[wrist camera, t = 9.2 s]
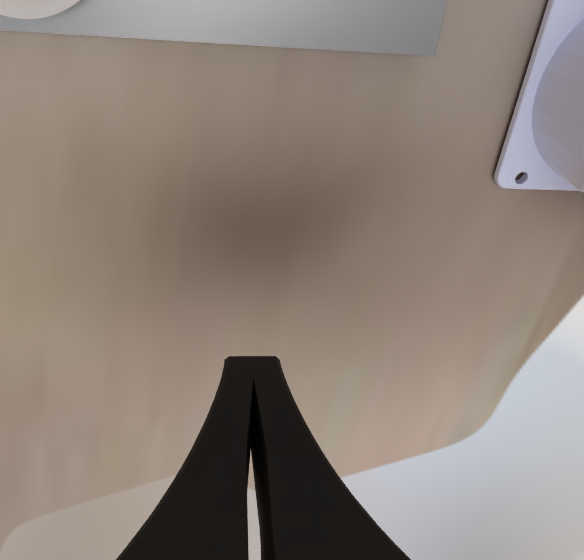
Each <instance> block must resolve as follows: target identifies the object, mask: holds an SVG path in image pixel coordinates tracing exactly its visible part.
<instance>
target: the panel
mask: <svg viewBox="0 0 584 560" xmlns="http://www.w3.org/2000/svg"><path fill="white" fill-rule="evenodd" d="M446 2H447V0H0V30H2V31H19V32H36V33H52V34H69V35H86V36H102V37H119V38H136V39H152V40H169V41H186V42H202V43H219V44H236V45H253V46H269V47H286V48H303V49H319V50H336V51H353V52H369V53H386V54H403V55H419V56H435V54H436V49H437V45H438V40H439V35H440V30H441V26H442V21H443V16H444V12H445V7H446Z"/></svg>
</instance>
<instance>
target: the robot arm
mask: <svg viewBox="0 0 584 560" xmlns="http://www.w3.org/2000/svg"><path fill="white" fill-rule="evenodd" d="M520 172H523V176H522V177H521V178H520V179H519V180H515V177H516V176H517V175H518V174H519V173H520ZM494 179H495V182H496V183H497V184H498V185H499V186H500V187H501V188H505V189H534V190H566V191H581V192H583V193H584V0H549V1H548V4H547V7H546V11H545V14H544V17H543V20H542V23H541V27H540V30H539V33H538V36H537V39H536V43H535V46H534V49H533V52H532V55H531V59H530V62H529V65H528V68H527V72H526V75H525V78H524V81H523V84H522V88H521V91H520V94H519V97H518V100H517V104H516V107H515V110H514V113H513V116H512V120H511V123H510V126H509V129H508V132H507V136H506V139H505V142H504V145H503V148H502V152H501V155H500V158H499V161H498V164H497V168H496V171H495V174H494ZM250 449H251V453H252V462H253V472H254V481H255V490H256V499H257V508H258V517H259V526H260V539H261V540H260V541H261V560H411V559H410V558H409V557H408V556H406V555H405V553H404V552H403V551H402V550H401V549H400V548H399V547H398V546H397V545H396V544H395V543H394V542H393V541H392V540H391V539H390V538H389V537H388V536H387V535H386V534H385V532H384V531H383V530H382V529H381V528H380V527H379V526H378V525H377V524H376V522H375V521H374V520H373V519H372V518H371V517H370V515H369V514H368V513H367V512H366V511H365V509H364V508H363V507H362V506H361V504H359V502H358V501H357V500H356V499H355V497H354V496H353V495H352V494H351V492H350V491H349V489H348V488H347V487H346V485H345V484H344V483H343V481H342V480H341V479H340V477H339V476H338V474H337V473H336V472H335V470H334V469H333V467H332V466H331V464H330V463H329V461H328V460H327V458H326V457H325V455H324V454H323V452H322V450H321V449H320V447H319V445H318V444H317V442H316V440H315V439H314V437H313V435H312V434H311V432H310V430H309V428H308V426H307V425H306V423H305V421H304V419H303V417H302V415H301V413H300V411H299V409H298V407H297V405H296V403H295V401H294V398H293V396H292V394H291V392H290V389H289V387H288V385H287V382H286V379H285V377H284V374H283V371H282V368H281V364H280V360H279V359H278V358H277V357H276V356H230V357H228V358H227V359H225V362H224V369H223V373H222V377H221V381H220V384H219V387H218V390H217V393H216V396H215V398H214V401H213V403H212V406H211V408H210V411H209V413H208V415H207V418H206V420H205V422H204V425H203V427H202V429H201V431H200V433H199V435H198V437H197V439H196V441H195V443H194V445H193V447H192V449H191V451H190V453H189V455H188V456H187V458H186V460H185V462H184V464H183V465H182V467H181V469H180V470H179V472H178V474H177V475H176V477H175V479H174V481H173V482H172V484H171V485H170V487H169V488H168V490H167V491H166V493H165V494H164V496H163V497H162V499H161V500H160V502H159V504H158V505H157V506H156V508H155V509H154V511H153V512H152V514H151V515H150V516H149V518H148V519H147V520H146V522H145V523H144V525H143V526H142V527H141V528H140V530H139V531H138V532H137V534H136V535H135V536H134V538H133V539H132V540H131V542H130V543H129V544H128V546H127V547H126V548H125V549H124V551H123V552H122V553H121V554H120V555H119V557H118V558H117V559H116V560H248V520H247V486H248V474H249V462H250Z"/></svg>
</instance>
